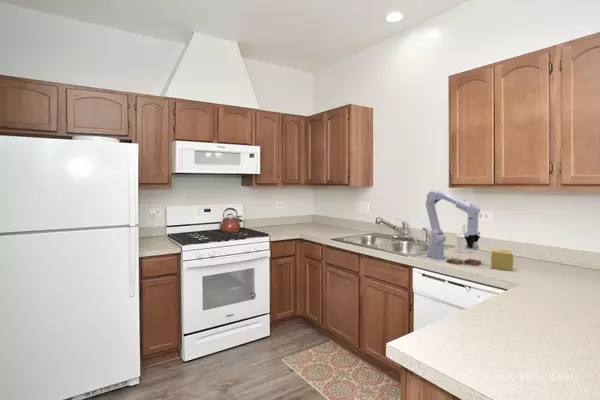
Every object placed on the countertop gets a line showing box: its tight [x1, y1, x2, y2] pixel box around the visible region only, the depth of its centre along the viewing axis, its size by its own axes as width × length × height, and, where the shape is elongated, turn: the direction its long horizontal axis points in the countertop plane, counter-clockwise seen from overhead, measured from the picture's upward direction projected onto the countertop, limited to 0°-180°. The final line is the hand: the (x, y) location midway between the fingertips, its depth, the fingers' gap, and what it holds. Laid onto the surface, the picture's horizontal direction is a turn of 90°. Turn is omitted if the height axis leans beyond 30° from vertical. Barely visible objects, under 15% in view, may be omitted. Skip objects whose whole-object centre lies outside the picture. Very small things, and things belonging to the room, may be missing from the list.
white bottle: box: [455, 223, 471, 254], centre depth 236 cm, size 10×9×20 cm
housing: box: [466, 241, 479, 251], centre depth 201 cm, size 6×4×5 cm, turn 34°
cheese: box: [490, 249, 514, 272], centre depth 192 cm, size 10×11×10 cm
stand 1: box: [445, 257, 464, 266], centre depth 202 cm, size 7×6×2 cm
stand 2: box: [464, 258, 482, 266], centre depth 201 cm, size 7×6×2 cm
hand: (471, 247), depth 201 cm, fingers closed on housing, 4 cm apart
